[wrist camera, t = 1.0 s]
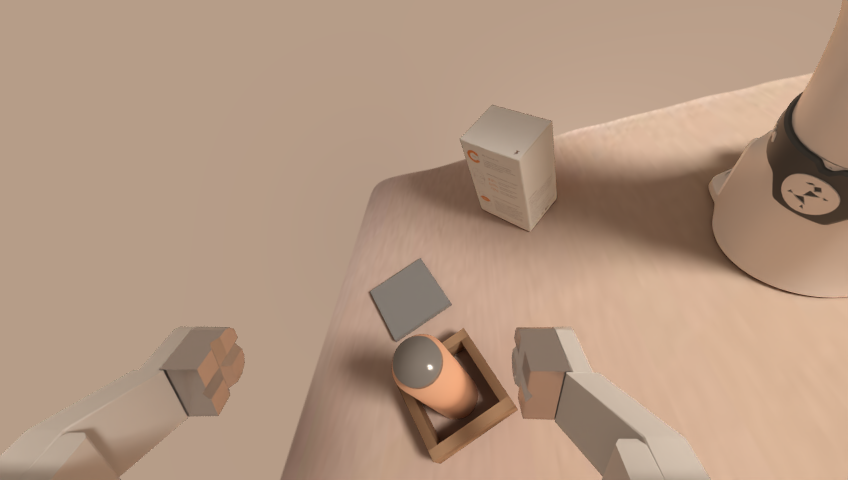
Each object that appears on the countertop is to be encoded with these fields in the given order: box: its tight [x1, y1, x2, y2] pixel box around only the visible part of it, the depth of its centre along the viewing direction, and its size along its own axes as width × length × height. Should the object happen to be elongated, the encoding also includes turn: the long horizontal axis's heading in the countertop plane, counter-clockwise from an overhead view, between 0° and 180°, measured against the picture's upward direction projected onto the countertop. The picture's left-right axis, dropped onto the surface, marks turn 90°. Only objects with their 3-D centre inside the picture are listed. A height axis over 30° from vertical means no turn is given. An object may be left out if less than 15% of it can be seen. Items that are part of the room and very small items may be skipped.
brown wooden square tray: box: [397, 328, 518, 464], centre depth 39 cm, size 9×9×2 cm
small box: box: [460, 105, 557, 232], centre depth 45 cm, size 8×6×13 cm
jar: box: [392, 334, 478, 420], centre depth 35 cm, size 5×5×13 cm
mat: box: [370, 258, 452, 342], centre depth 47 cm, size 8×8×1 cm
